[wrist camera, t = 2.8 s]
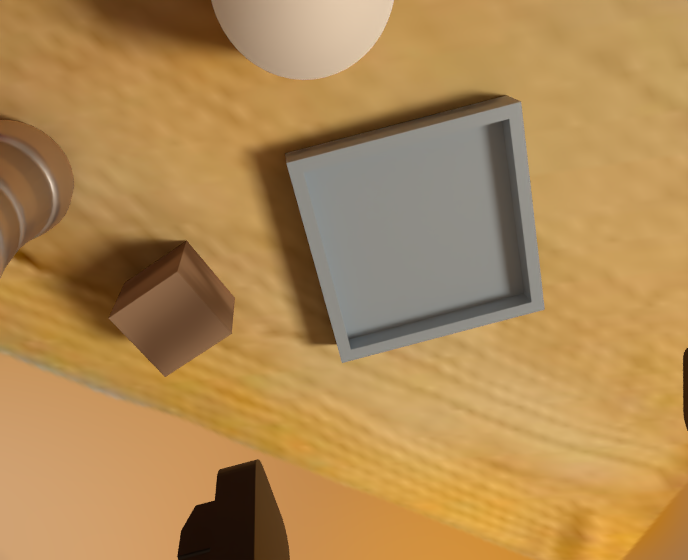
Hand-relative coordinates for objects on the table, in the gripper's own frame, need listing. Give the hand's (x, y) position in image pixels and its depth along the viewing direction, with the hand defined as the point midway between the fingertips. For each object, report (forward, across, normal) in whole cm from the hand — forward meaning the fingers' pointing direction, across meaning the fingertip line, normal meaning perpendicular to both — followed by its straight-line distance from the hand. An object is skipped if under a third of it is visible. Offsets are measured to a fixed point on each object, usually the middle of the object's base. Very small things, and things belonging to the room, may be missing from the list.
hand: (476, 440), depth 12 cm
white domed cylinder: (+30, 0, -8) cm, 31 cm away
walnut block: (+30, +12, +8) cm, 33 cm away
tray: (+30, -4, +8) cm, 31 cm away
